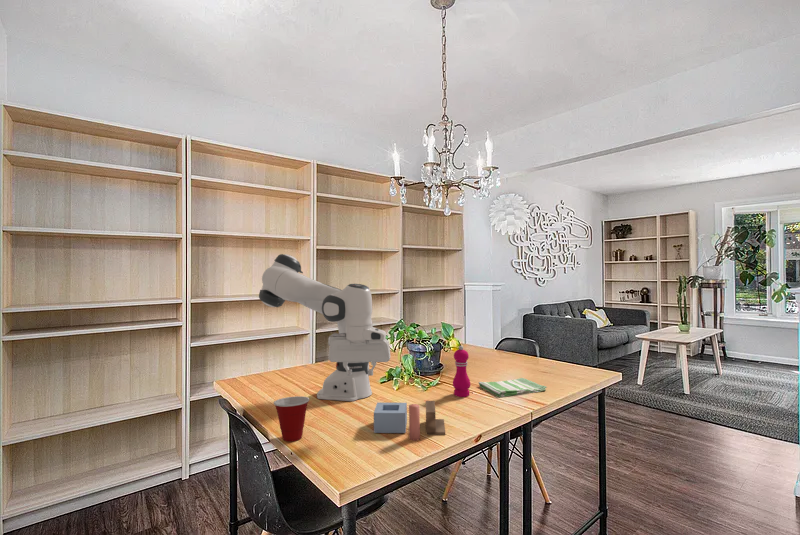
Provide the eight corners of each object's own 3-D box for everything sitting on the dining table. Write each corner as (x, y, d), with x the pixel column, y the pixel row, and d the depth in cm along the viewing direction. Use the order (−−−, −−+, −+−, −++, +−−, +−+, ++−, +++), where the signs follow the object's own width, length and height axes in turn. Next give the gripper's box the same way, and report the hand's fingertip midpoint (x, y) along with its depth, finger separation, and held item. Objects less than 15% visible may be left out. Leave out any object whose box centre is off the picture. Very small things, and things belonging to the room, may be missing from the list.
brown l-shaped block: (426, 434, 130) (425, 412, 130) (426, 421, 141) (425, 400, 141) (445, 434, 130) (445, 412, 130) (443, 421, 141) (443, 400, 141)
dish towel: (548, 392, 173) (548, 385, 173) (500, 399, 165) (500, 392, 165) (521, 381, 190) (521, 375, 190) (476, 387, 182) (476, 381, 182)
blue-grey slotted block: (373, 432, 132) (373, 412, 132) (377, 420, 142) (377, 402, 142) (405, 433, 131) (405, 413, 131) (406, 421, 141) (406, 402, 141)
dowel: (409, 440, 126) (408, 407, 126) (409, 436, 129) (409, 404, 129) (419, 440, 126) (419, 407, 126) (419, 436, 129) (419, 404, 129)
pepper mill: (470, 397, 165) (469, 347, 165) (452, 397, 167) (451, 347, 167) (471, 392, 172) (470, 344, 172) (453, 391, 174) (452, 343, 174)
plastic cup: (307, 428, 136) (306, 392, 136) (313, 441, 126) (312, 401, 126) (272, 434, 132) (271, 396, 132) (276, 447, 122) (275, 407, 122)
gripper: (325, 334, 134) (326, 377, 135) (388, 334, 133) (389, 377, 133) (330, 331, 141) (330, 372, 141) (390, 331, 139) (391, 372, 140)
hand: (359, 375), depth 137 cm, fingers open, 6 cm apart
